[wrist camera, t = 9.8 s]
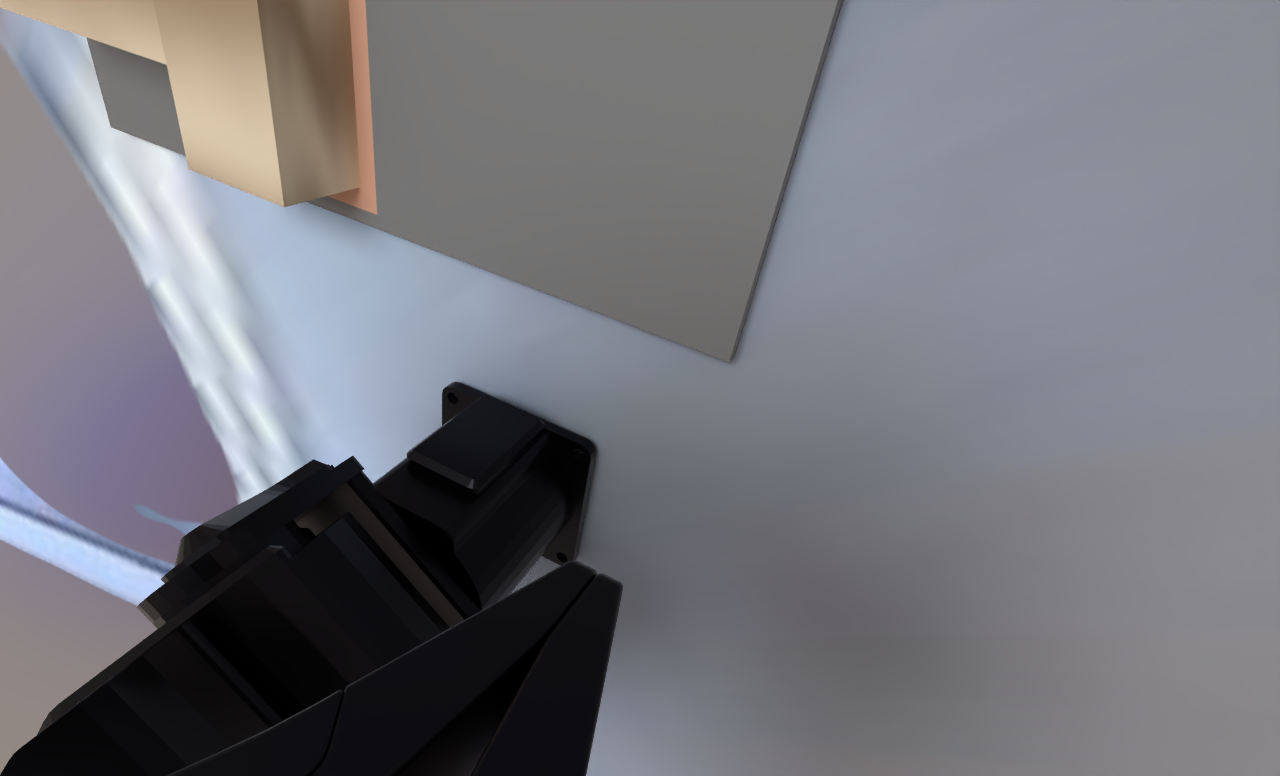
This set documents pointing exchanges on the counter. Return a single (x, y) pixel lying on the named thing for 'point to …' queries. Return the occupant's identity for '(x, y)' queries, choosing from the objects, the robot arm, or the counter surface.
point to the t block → (242, 84)
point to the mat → (568, 142)
